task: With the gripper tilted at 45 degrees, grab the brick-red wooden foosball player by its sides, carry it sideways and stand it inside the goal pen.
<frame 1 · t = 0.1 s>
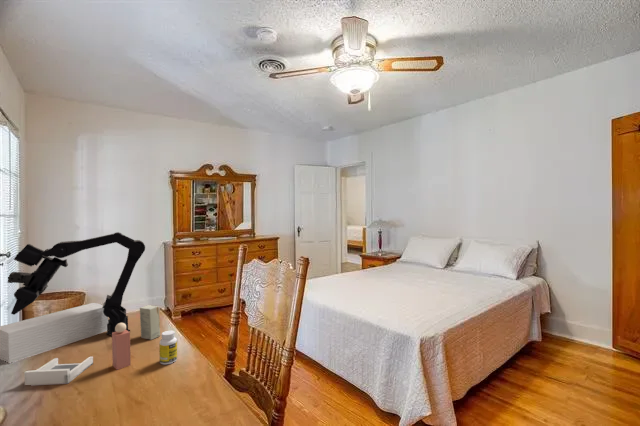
hand: (16, 310, 117), 15 cm above the table, tool tilted 35°, fingers open, 9 cm apart
supplement bottle: (168, 361, 109), on the table
foosball player: (121, 365, 106), on the table
goal pen: (61, 374, 101), on the table
stack of papers: (57, 343, 125), on the table
skincare box: (150, 337, 129), on the table
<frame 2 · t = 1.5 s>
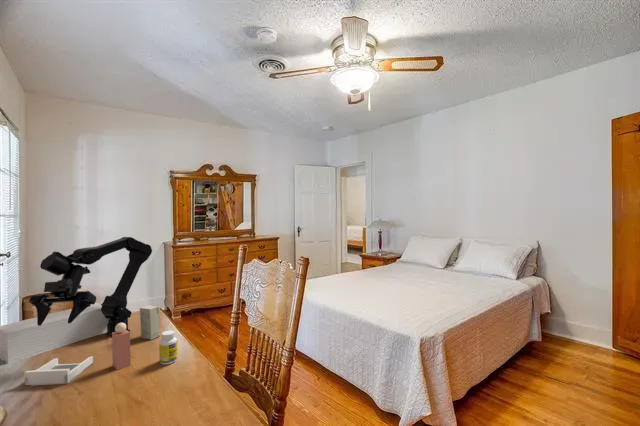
hand: (54, 324, 106), 14 cm above the table, tool tilted 40°, fingers open, 9 cm apart
nothing on the table moved.
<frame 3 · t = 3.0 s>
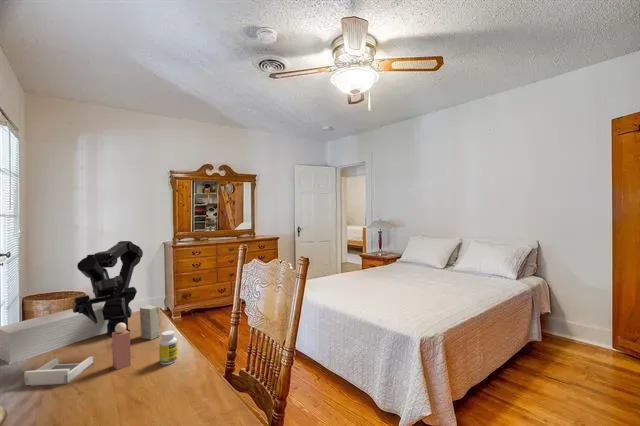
hand: (112, 319, 111), 14 cm above the table, tool tilted 45°, fingers open, 9 cm apart
nothing on the table moved.
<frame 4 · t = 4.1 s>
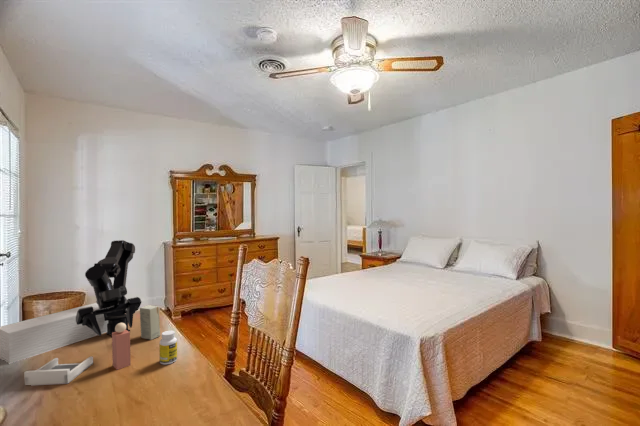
hand: (116, 331, 108), 11 cm above the table, tool tilted 45°, fingers open, 9 cm apart
nothing on the table moved.
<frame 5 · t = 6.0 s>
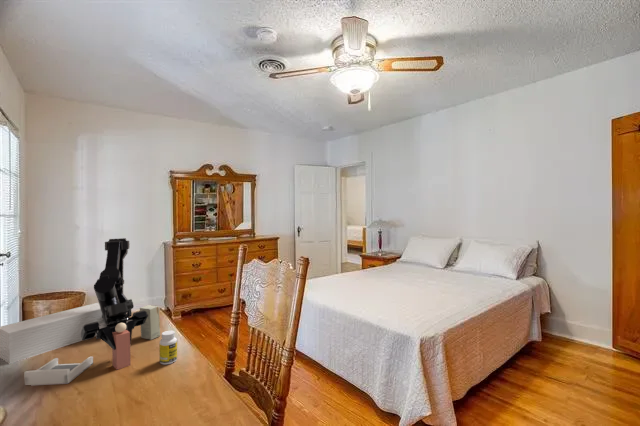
hand: (122, 346, 105), 7 cm above the table, tool tilted 45°, fingers closed on foosball player, 4 cm apart
foosball player: (121, 365, 106), on the table, touching gripper
when the fingers open (8 cm above the table, at t = 12.0 s): foosball player drops 1 cm, resting on goal pen.
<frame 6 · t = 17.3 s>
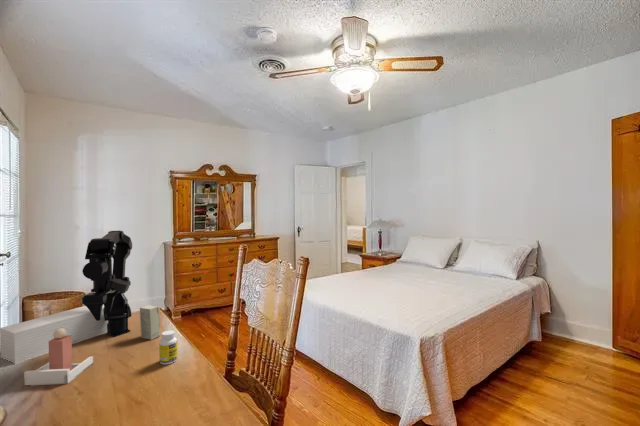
hand: (103, 316, 116), 13 cm above the table, tool pointing down, fingers open, 9 cm apart
foosball player: (61, 372, 101), resting on goal pen
at the end: foosball player inside the target area on the goal pen (0.1 cm from its centre), point 0.4 cm above the goal pen's base; foosball player tilted 0°; the gripper is holding nothing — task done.
